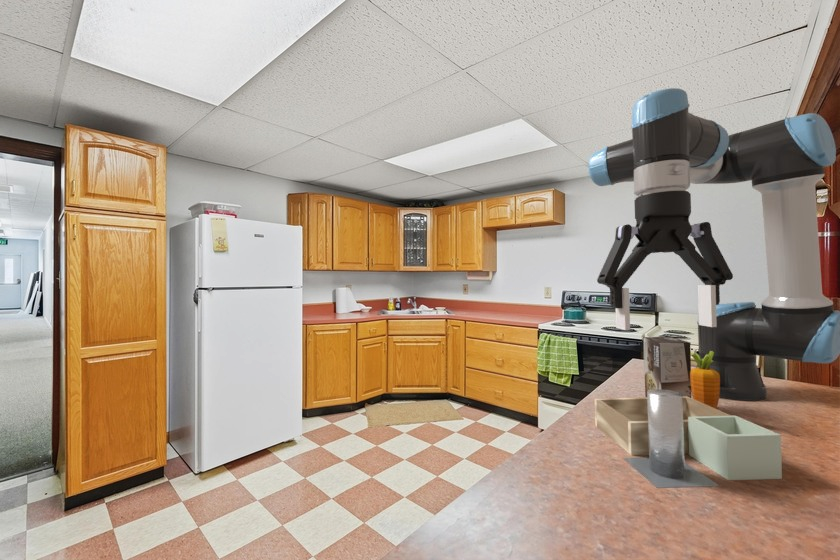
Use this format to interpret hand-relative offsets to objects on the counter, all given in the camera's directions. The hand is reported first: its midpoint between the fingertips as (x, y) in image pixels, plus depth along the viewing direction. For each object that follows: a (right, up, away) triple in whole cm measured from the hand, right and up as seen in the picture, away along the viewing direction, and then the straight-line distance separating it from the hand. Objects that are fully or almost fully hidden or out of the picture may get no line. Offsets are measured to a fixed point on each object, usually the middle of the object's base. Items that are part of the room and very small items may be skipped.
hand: (665, 327), depth 60 cm
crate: (+6, -22, +11) cm, 26 cm away
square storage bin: (+10, -22, 0) cm, 25 cm away
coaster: (-1, -23, -1) cm, 23 cm away
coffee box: (+18, -22, +27) cm, 40 cm away
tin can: (-1, -22, -2) cm, 22 cm away
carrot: (+20, -22, +18) cm, 35 cm away
